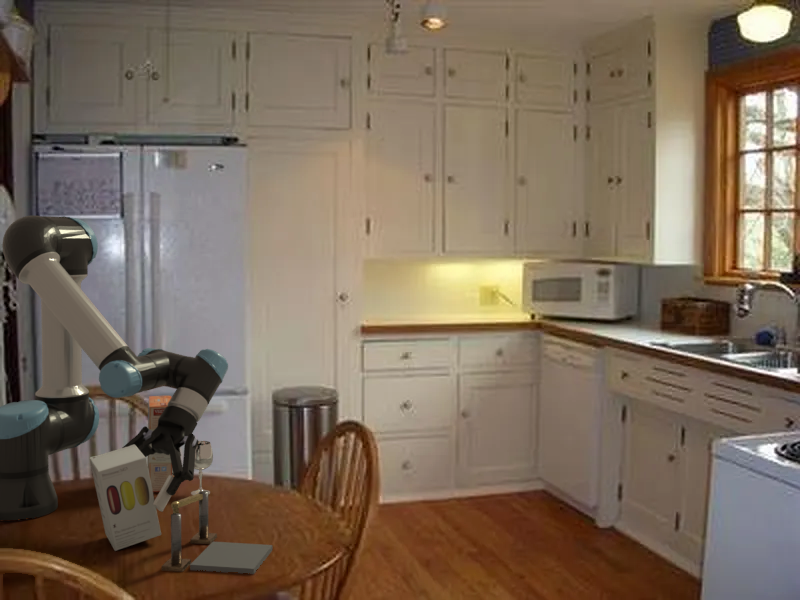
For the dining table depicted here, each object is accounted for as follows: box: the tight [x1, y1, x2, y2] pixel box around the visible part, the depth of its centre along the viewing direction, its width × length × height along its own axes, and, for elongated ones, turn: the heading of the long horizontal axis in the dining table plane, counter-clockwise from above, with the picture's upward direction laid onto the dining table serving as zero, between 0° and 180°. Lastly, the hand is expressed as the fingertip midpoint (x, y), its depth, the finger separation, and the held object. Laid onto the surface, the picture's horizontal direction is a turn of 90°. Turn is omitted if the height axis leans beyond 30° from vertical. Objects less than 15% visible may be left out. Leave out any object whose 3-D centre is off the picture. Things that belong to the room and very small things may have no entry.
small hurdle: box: [161, 490, 218, 573], centre depth 163 cm, size 6×18×10 cm, turn 173°
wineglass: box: [190, 440, 214, 496], centre depth 201 cm, size 6×6×12 cm
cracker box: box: [147, 395, 174, 493], centre depth 207 cm, size 14×6×21 cm, turn 17°
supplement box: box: [89, 444, 162, 552], centre depth 167 cm, size 10×9×17 cm
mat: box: [189, 541, 273, 575], centre depth 160 cm, size 12×12×1 cm
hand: (130, 503), depth 168 cm, fingers open, 13 cm apart
